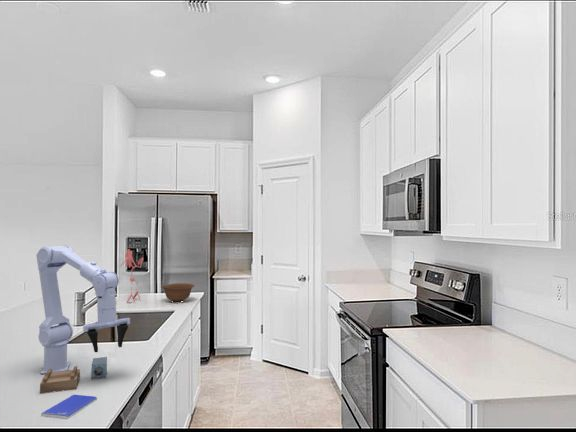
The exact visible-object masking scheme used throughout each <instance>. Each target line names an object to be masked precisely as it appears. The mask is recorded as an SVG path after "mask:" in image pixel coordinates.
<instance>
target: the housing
mask: <svg viewBox="0 0 576 432" xmlns="http://www.w3.org/2000/svg"><path fill="white" fill-rule="evenodd" d="M90 370H91V371H90V373H91V375H90V376H91V380H97V379H105V378H107V373H108V372H107V371H108V356H103V357H94V358H92V361H91V369H90Z"/></svg>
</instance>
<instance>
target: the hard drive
mask: <svg viewBox="0 0 576 432" xmlns="http://www.w3.org/2000/svg"><path fill="white" fill-rule="evenodd" d="M97 400H98V397H97V396H93V395H92V396H91V395H81V394H72V395H70V396H69V397H67V398H65V399H63V400H61V401H60V402H58V403H57V404H54V405H53V406H51V407H49V408H47V409H46V410H44V411H43V412H41V413H40V417H42V416H44V417H45V418H51V417H53V418H54V419H61V420H69V419H70V418H72V417H73V416H75V415H76V414H78V413H79V412H81V411H82V410H85V408H87V407H88V406H91V404H93V403H95V402H96V401H97Z"/></svg>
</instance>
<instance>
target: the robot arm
mask: <svg viewBox="0 0 576 432" xmlns="http://www.w3.org/2000/svg"><path fill="white" fill-rule="evenodd" d="M36 262H37V268H38V273H39V281H40V282H39V283H40V288H41V294H42V301H43V302H42V303H43V310H44V314H45V315H44V317H45V319H44V320H43V321H42V322H41V323H40V324H39V326H38V328H39V333H38V341H39V343H40V344H41V347H43V350H44V351H43V352H44V353H43V368H42V370H41V371H40V374H41V375H45V374H46V373H47V371H48V369H52V372H57V371H66V370H68V369H69V367H70V364H71V362H70V361H68V344H69V343H70V339H72V337H73V334H74V329H73V327H72V325H71V322H70V319H69V318H68V317H66V316H65V315H64V314H63V308H62V301H61V300H62V299H61V296H60V295H61V294H60V287H59V281H58V274H57V273H58V272H59V270H60V269H61V268H63V267H64V266H66V265H69V266H71V267H72V268H74V269H76V270H78V271H79V275H80V276H81V277H83V279H85V280H87V281H88V282H90V283H91V284H92V288H93V290H94V292H95V293H94V294H95V295H96V302H97V303H96V305H97V306H96V307H97V322H92V323H91V322H90V323H87V324H83V326H82V327H83V328H82V330H83V332H84V333H85V332H86V334H87V335H88V337H89V339H90V342H91V344H92V348H93V352H94V353H99V348H98V346H99V345H98V335H99V334H98V331H97V330H101V329H108V328H111V327H112V328H113V327H116V330H117V331H116V334H117V347H118V348H122V347H123V342H124V337H125V335H126V333H127V331H128V330H129V329H128V328H129V325H130V324H131V318H130V317H124V318H117V311H116V310H117V303H116V302H117V301H116V288H117V287H118V285H119V283H120V281H119V280H120V279H119V276H118V274H117V273H116V272H114V271H106V269H105V268H102V267H101V266H99V265H98V264H97V262H96V261H88V262H87V261H86V260H84V259H83V258H82V257H80V256H79V255H78V254H77V253H75V252H74V249H73V248H72V247H70V246H69V245H64V244H63V245H57V246H42V247H40V249H39V250H38V251H37V253H36Z"/></svg>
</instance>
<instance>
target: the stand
mask: <svg viewBox="0 0 576 432" xmlns="http://www.w3.org/2000/svg"><path fill="white" fill-rule="evenodd" d="M80 377H81V368H78V366H77V365H76V366H73V367H72V369H69V370H68V369H67V370H66V371H57V372H52V369H48V371H47V373H45V374H44V376H43V378H42V379H41V381H40V383H39V394H46V393H45V392H48V393H54V392H53V391H56V392H63V391H62V390H64V391H72V390H77V387H78V384H79V382H80V379H81V378H80Z"/></svg>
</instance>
